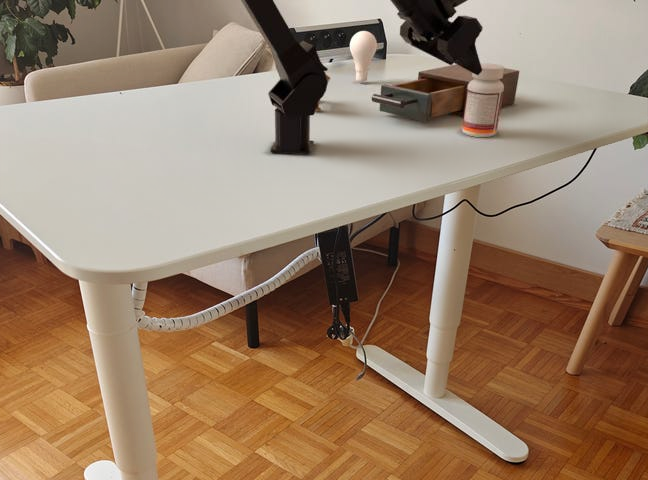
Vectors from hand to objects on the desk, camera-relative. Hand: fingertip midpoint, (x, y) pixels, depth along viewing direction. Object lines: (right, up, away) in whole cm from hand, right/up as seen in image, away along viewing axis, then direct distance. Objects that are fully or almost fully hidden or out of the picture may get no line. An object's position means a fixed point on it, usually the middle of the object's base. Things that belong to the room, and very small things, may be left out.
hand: (466, 67), depth 115 cm
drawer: (-5, -2, +17) cm, 17 cm away
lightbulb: (-14, +15, +43) cm, 48 cm away
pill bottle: (+4, -9, +7) cm, 12 cm away
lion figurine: (-26, +2, +22) cm, 34 cm away
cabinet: (+6, +3, +25) cm, 26 cm away
